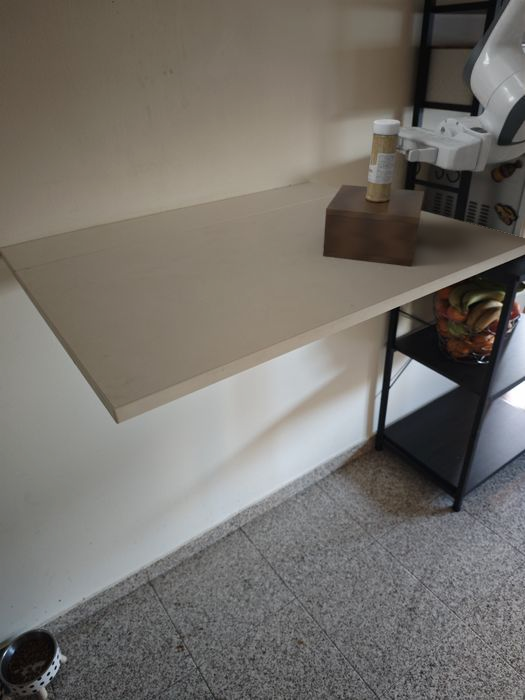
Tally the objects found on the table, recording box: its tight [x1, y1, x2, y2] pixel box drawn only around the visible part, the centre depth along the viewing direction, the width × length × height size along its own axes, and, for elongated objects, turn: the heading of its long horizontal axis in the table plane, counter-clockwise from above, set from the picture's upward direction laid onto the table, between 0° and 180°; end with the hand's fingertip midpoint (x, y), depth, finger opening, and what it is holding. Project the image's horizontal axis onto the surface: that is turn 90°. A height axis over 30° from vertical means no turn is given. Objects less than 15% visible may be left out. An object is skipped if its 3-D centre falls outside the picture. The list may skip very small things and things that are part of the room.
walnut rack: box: [322, 184, 425, 267], centre depth 95 cm, size 16×16×9 cm
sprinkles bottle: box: [366, 118, 401, 202], centre depth 89 cm, size 5×5×14 cm
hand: (391, 150), depth 88 cm, fingers open, 8 cm apart
